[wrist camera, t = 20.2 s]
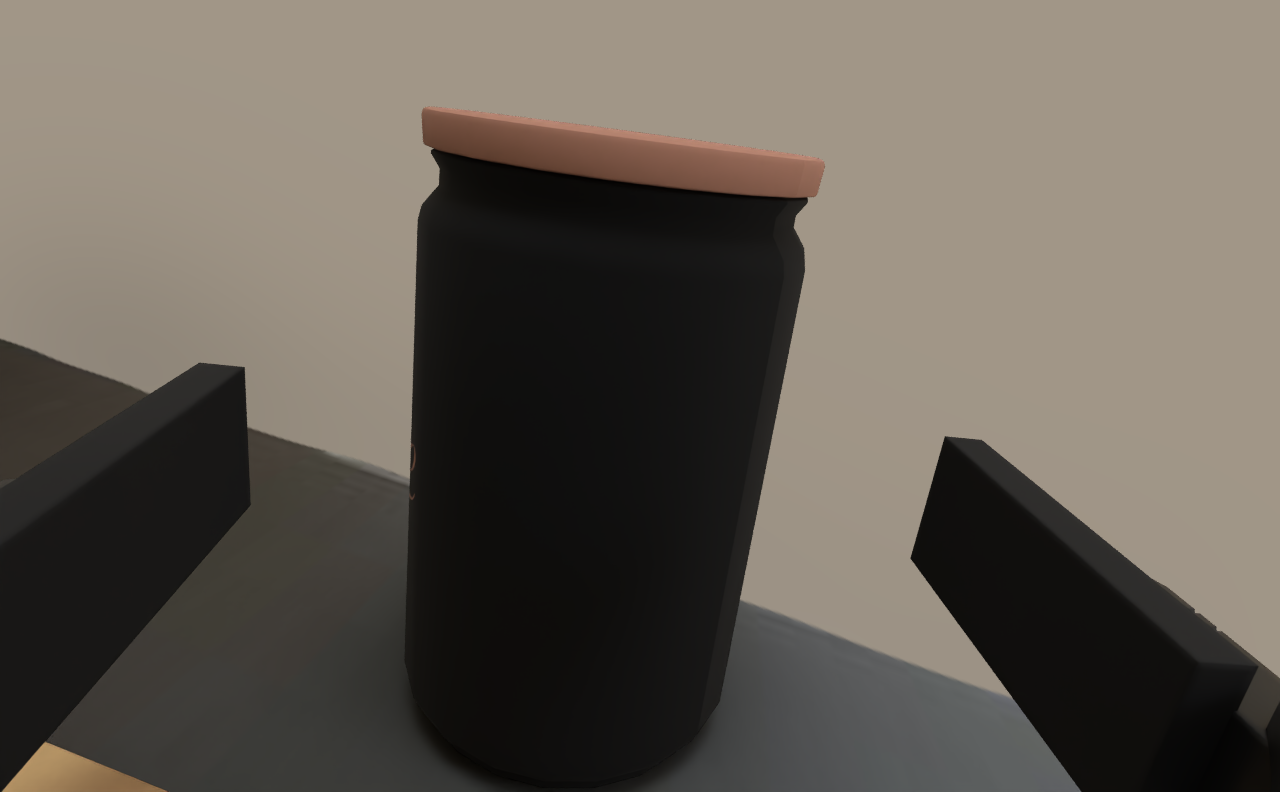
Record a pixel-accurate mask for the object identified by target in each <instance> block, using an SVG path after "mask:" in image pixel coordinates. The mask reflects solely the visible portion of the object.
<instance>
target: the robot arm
mask: <svg viewBox="0 0 1280 792" xmlns="http://www.w3.org/2000/svg"><path fill="white" fill-rule="evenodd" d="M250 505H251V503H250V480H249V457H248V434H247V412H246V389H245V367H237V366H226V365H217V364H207V363H198V364H197V365H195V366H193V367H192V368H190V369H189V370H187V371H186V372H184V373H182V374H181V375H179V376H178V377H176V378H174V379H173V380H172V381H170V382H168V383H167V384H165V385H164V386H162V387H160V388H159V389H157V390H155V391H154V392H153V393H151V394H149V395H148V396H146V397H144V398H143V399H141V400H140V401H138V402H137V403H135V404H133V405H132V406H130V407H129V408H127V409H125V410H124V411H122V412H121V413H119V414H118V415H116V416H114V417H113V418H111V419H110V420H108V421H106V422H105V423H103V424H102V425H100V426H99V427H97V428H95V429H94V430H92V431H91V432H89V433H88V434H86V435H84V436H83V437H81V438H80V439H78V440H76V441H75V442H73V443H72V444H70V445H69V446H67V447H65V448H64V449H62V450H61V451H59V452H57V453H56V454H54V455H53V456H51V457H50V458H48V459H46V460H45V461H43V462H42V463H40V464H39V465H37V466H35V467H34V468H32V469H31V470H29V471H27V472H26V473H24V474H23V475H21V476H20V477H18V478H16V479H5V480H2V481H0V792H2V791H3V790H4V789H5V787H6V786H7V785H8V784H9V783H10V782H11V780H12V779H13V778H14V777H15V776H16V775H17V774H18V772H19V771H20V770H21V769H22V768H23V767H24V765H25V764H26V763H27V762H28V761H29V760H30V759H31V757H32V756H33V755H34V754H35V753H36V752H37V751H38V749H39V748H40V747H41V746H42V745H43V744H44V742H45V741H46V740H47V739H48V738H49V737H50V736H51V734H52V733H53V732H54V731H55V730H56V729H57V727H58V726H59V725H60V724H61V723H62V722H63V721H64V719H65V718H66V717H67V716H68V715H69V714H70V712H71V711H72V710H73V709H74V708H75V707H76V706H77V704H78V703H79V702H80V701H81V700H82V699H83V698H84V696H85V695H86V694H87V693H88V692H89V691H90V689H91V688H92V687H93V686H94V685H95V684H96V683H97V681H98V680H99V679H100V678H101V677H102V676H103V674H104V673H105V672H106V671H107V670H108V669H109V668H110V666H111V665H112V664H113V663H114V662H115V661H116V660H117V658H118V657H119V656H120V655H121V654H122V653H123V651H124V650H125V649H126V648H127V647H128V646H129V645H130V643H131V642H132V641H133V640H134V639H135V638H136V636H137V635H138V634H139V633H140V632H141V631H142V630H143V628H144V627H145V626H146V625H147V624H148V623H149V621H150V620H151V619H152V618H153V617H154V616H155V615H156V613H157V612H158V611H159V610H160V609H161V608H162V607H163V605H164V604H165V603H166V602H167V601H168V600H169V598H170V597H171V596H172V595H173V594H174V593H175V592H176V590H177V589H178V588H179V587H180V586H181V585H182V583H183V582H184V581H185V580H186V579H187V578H188V577H189V575H190V574H191V573H192V572H193V571H194V570H195V568H196V567H197V566H198V565H199V564H200V563H201V562H202V560H203V559H204V558H205V557H206V556H207V555H208V554H209V552H210V551H211V550H212V549H213V548H214V547H215V545H216V544H217V543H218V542H219V541H220V540H221V539H222V537H223V536H224V535H225V534H226V533H227V532H228V530H229V529H230V528H231V527H232V526H233V525H234V524H235V522H236V521H237V520H238V519H239V518H240V517H241V516H242V514H243V513H244V512H245V511H246V510H247V509H248V507H249V506H250ZM911 560H912V561H913V562H914V564H915V565H916V567H917V568H918V569H919V571H920V572H921V574H922V575H923V576H924V577H925V579H926V580H927V582H928V583H929V584H930V586H931V587H932V588H933V590H934V591H935V593H936V594H937V595H938V597H939V598H940V599H941V601H942V602H943V603H944V605H945V606H946V607H947V609H948V610H949V611H950V613H951V614H952V616H953V617H954V618H955V620H956V621H957V623H958V624H959V625H960V627H961V628H962V629H963V631H964V632H965V633H966V635H967V636H968V637H969V639H970V640H971V641H972V643H973V644H974V646H975V647H976V648H977V650H978V651H979V653H980V654H981V655H982V657H983V658H984V659H985V661H986V662H987V663H988V665H989V666H990V668H991V669H992V670H993V672H994V673H995V674H996V676H997V677H998V678H999V680H1000V681H1001V683H1002V684H1003V685H1004V687H1005V688H1006V689H1007V691H1008V692H1009V693H1010V695H1011V696H1012V698H1013V699H1014V700H1015V702H1016V703H1017V704H1018V706H1019V707H1020V708H1021V710H1022V711H1023V713H1024V714H1025V715H1026V717H1027V718H1028V719H1029V721H1030V722H1031V723H1032V725H1033V726H1034V728H1035V729H1036V730H1037V732H1038V733H1039V734H1040V736H1041V737H1042V738H1043V740H1044V741H1045V743H1046V744H1047V745H1048V747H1049V748H1050V749H1051V751H1052V752H1053V753H1054V755H1055V756H1056V758H1057V759H1058V760H1059V762H1060V763H1061V764H1062V766H1063V767H1064V768H1065V770H1066V771H1067V773H1068V774H1069V775H1070V777H1071V778H1072V779H1073V781H1074V782H1075V783H1076V785H1077V786H1078V788H1079V789H1080V790H1081V792H1280V678H1279V677H1277V676H1276V675H1275V674H1274V673H1272V672H1271V671H1270V670H1269V669H1268V668H1267V667H1265V666H1264V665H1263V664H1261V663H1260V662H1259V661H1258V660H1257V659H1255V658H1254V657H1253V656H1252V655H1250V654H1249V653H1248V652H1247V651H1246V650H1244V649H1243V648H1242V647H1241V646H1239V645H1238V644H1237V643H1235V642H1234V641H1233V640H1232V639H1231V638H1229V637H1228V636H1227V635H1226V634H1224V633H1223V632H1220V631H1217V630H1216V626H1215V625H1213V624H1212V623H1211V622H1210V621H1208V620H1207V619H1206V618H1204V617H1203V616H1202V615H1201V614H1198V613H1195V611H1194V610H1195V609H1194V608H1192V607H1191V606H1190V605H1189V604H1187V603H1186V602H1185V601H1184V600H1182V599H1181V598H1180V597H1179V596H1178V595H1176V594H1175V593H1174V592H1173V591H1171V590H1170V589H1169V588H1167V587H1166V586H1164V585H1162V584H1160V583H1159V582H1157V581H1155V580H1153V579H1151V578H1150V577H1149V576H1148V575H1146V574H1145V573H1144V572H1143V571H1142V570H1140V569H1139V568H1138V567H1137V566H1135V565H1134V564H1133V563H1132V562H1131V561H1129V560H1128V559H1127V558H1126V557H1124V556H1123V555H1122V554H1121V553H1120V552H1118V551H1117V550H1116V549H1115V548H1113V547H1112V546H1111V545H1110V544H1108V543H1107V542H1106V541H1105V540H1103V539H1102V538H1101V537H1100V536H1099V535H1097V534H1096V533H1095V532H1094V531H1093V530H1091V529H1090V528H1089V527H1088V526H1087V525H1085V524H1084V523H1083V522H1082V521H1080V520H1079V519H1078V518H1077V517H1075V516H1074V515H1073V514H1072V513H1071V512H1069V511H1068V510H1067V509H1066V508H1064V507H1063V506H1062V505H1061V504H1059V503H1058V502H1057V501H1056V500H1055V499H1053V498H1052V497H1051V496H1050V495H1049V494H1047V493H1046V492H1045V491H1044V490H1042V489H1041V488H1040V487H1039V486H1038V485H1036V484H1035V483H1034V482H1033V481H1031V480H1030V479H1029V478H1028V477H1027V476H1025V475H1024V474H1023V473H1022V472H1020V471H1019V470H1018V469H1017V468H1016V467H1014V466H1013V465H1012V464H1010V463H1009V462H1008V461H1007V460H1006V459H1004V458H1003V457H1002V456H1001V455H1000V454H998V453H997V452H996V451H995V450H993V449H992V448H991V447H990V446H988V445H987V444H986V443H985V442H984V441H982V440H975V439H966V438H956V437H946V436H945V438H944V442H943V445H942V449H941V452H940V456H939V460H938V463H937V466H936V470H935V473H934V477H933V481H932V484H931V488H930V491H929V495H928V498H927V502H926V505H925V509H924V512H923V516H922V519H921V523H920V527H919V530H918V534H917V537H916V541H915V544H914V548H913V551H912V555H911Z"/></svg>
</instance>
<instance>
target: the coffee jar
mask: <svg viewBox="0 0 1280 792" xmlns="http://www.w3.org/2000/svg"><path fill="white" fill-rule="evenodd" d="M422 129H423V142H424V144H425V145H427V146H429V147H432V148H434V149H432V150H431V154H432V156H433V157H434V159H435V161H436V162H437V164H438V166H439V168H440V174H439V186H438V187H437V188H436V189H435V190H434V191H433V192H432V194H431V195H430V196H429V197H428V198H427V199H426V201H425V202H424V203H423V204H422V206H421V210H420V213H419V217H418V230H417V263H416V296H415V297H416V299H415V331H414V363H413V397H412V399H413V400H412V430H411V431H412V432H411V464H410V497H409V531H408V564H407V597H406V631H405V664H406V668H407V672H408V676H409V680H410V684H411V689H412V693H413V696H414V698H415V700H416V702H417V704H418V706H419V707H420V708H421V710H422V711H423V712H424V713H425V715H426V716H427V717H428V718H429V719H430V721H431V722H432V723H433V724H434V726H435V727H436V728H437V729H438V731H439V732H440V733H441V734H442V735H443V737H444V738H445V739H446V740H448V741H449V742H450V743H451V744H452V746H453V747H454V748H455V749H456V751H458V752H459V753H461V754H462V755H464V756H466V757H467V758H469V759H471V760H472V761H474V762H476V763H477V764H479V765H481V766H482V767H484V768H486V769H487V770H489V771H491V772H492V773H494V774H496V775H499V776H502V777H506V778H510V779H514V780H517V781H521V782H525V783H529V784H533V785H536V786H540V787H544V788H595V787H599V786H602V785H606V784H610V783H613V782H617V781H621V780H624V779H628V778H632V777H635V776H639V775H641V774H643V773H644V772H646V771H647V770H649V769H650V768H652V767H654V766H655V765H657V764H658V763H660V762H661V761H663V760H664V759H666V758H668V757H669V756H671V755H672V754H674V753H675V752H676V751H677V750H678V749H680V748H681V747H683V746H685V745H686V744H688V743H689V742H691V740H692V739H693V738H694V737H695V736H696V734H697V733H698V732H699V730H700V729H701V727H702V726H703V725H704V723H705V722H706V720H707V719H708V717H709V716H710V715H711V713H712V712H713V710H714V709H715V707H716V706H717V705H718V703H719V701H720V696H721V691H722V686H723V681H724V676H725V671H726V666H727V661H728V656H729V651H730V646H731V641H732V636H733V631H734V626H735V621H736V616H737V611H738V606H739V601H740V595H741V591H742V585H743V580H744V575H745V570H746V565H747V560H748V555H749V550H750V545H751V540H752V535H753V530H754V525H755V520H756V515H757V510H758V505H759V500H760V495H761V490H762V484H763V479H764V474H765V469H766V464H767V459H768V454H769V449H770V444H771V439H772V434H773V429H774V424H775V419H776V414H777V409H778V404H779V399H780V394H781V389H782V384H783V379H784V374H785V369H786V363H787V359H788V354H789V348H790V343H791V338H792V333H793V328H794V323H795V318H796V313H797V308H798V303H799V298H800V293H801V288H802V283H803V278H804V273H805V259H804V247H803V245H802V243H801V241H800V239H799V237H798V235H797V233H796V231H795V229H794V222H795V217H796V215H797V214H798V213H799V212H800V211H801V210H802V208H803V207H804V206H805V205H806V204H807V202H808V198H807V197H815V196H816V195H817V193H818V189H819V186H820V182H821V179H822V175H823V172H824V168H825V164H824V161H822V160H821V159H819V158H815V157H808V156H803V155H795V154H789V153H783V152H776V151H769V150H763V149H756V148H748V147H741V146H735V145H727V144H720V143H713V142H706V141H699V140H692V139H684V138H677V137H670V136H662V135H655V134H647V133H640V132H632V131H625V130H618V129H609V128H602V127H594V126H587V125H580V124H571V123H564V122H557V121H549V120H541V119H532V118H525V117H517V116H509V115H501V114H493V113H485V112H476V111H468V110H459V109H450V108H442V107H425V108H423V111H422Z"/></svg>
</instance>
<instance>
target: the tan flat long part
mask: <svg viewBox="0 0 1280 792" xmlns="http://www.w3.org/2000/svg"><path fill="white" fill-rule="evenodd" d="M2 792H168V791H166V790H163V789H161V788H158V787H156V786H153V785H151V784H148V783H146V782H143V781H141V780H138V779H136V778H133V777H131V776H128V775H126V774H124V773H121V772H119V771H116V770H114V769H111V768H109V767H106V766H104V765H101V764H99V763H96V762H94V761H91V760H89V759H86V758H84V757H81V756H79V755H76V754H74V753H71V752H69V751H66V750H64V749H61V748H59V747H56V746H54V745H52V744H49V743H47V742H44V744H43V745H42V746H41V747H40V748H39V749H38V751H37V752H36V753H35V754H34V755H33V756H32V757H31V759H30V760H29V761H28V762H27V763H26V764H25V765H24V767H23V768H22V769H21V770H20V771H19V772H18V774H17V775H16V776H15V777H14V778H13V779H12V780H11V782H10V783H9V784H8V785H7V786H6V787H5V789H4V790H3V791H2Z"/></svg>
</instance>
